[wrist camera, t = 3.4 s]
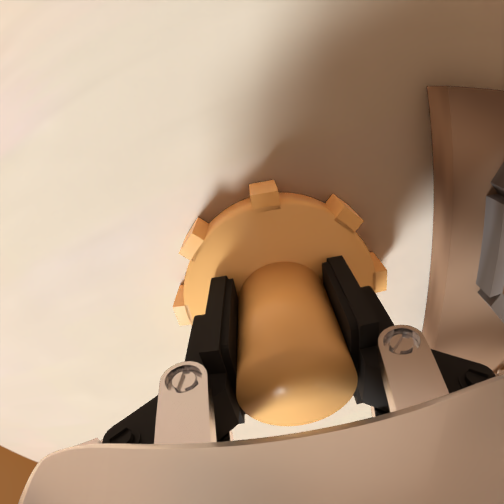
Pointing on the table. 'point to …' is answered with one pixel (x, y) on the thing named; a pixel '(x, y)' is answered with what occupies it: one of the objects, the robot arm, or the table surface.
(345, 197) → the table surface
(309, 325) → the gear
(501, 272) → the carrier
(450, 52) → the table surface
